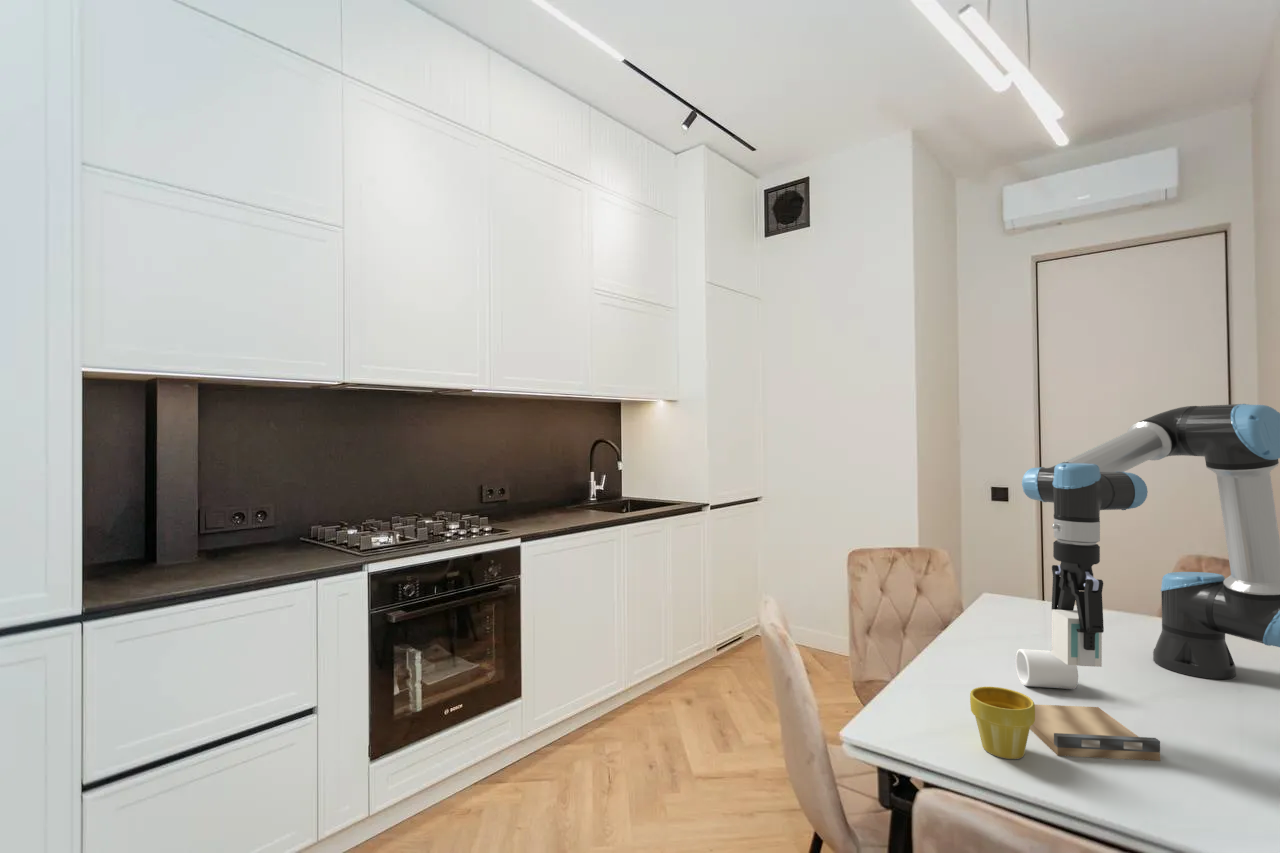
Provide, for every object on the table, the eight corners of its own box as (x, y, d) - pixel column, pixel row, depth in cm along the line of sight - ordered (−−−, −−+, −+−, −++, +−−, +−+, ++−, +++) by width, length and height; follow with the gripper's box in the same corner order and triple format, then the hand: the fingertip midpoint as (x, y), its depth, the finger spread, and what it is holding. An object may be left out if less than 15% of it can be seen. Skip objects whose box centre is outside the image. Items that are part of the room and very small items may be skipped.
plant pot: (958, 737, 119) (958, 686, 119) (1009, 735, 120) (1009, 684, 120) (993, 767, 109) (993, 711, 109) (1049, 764, 110) (1049, 708, 110)
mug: (1078, 695, 138) (1078, 659, 138) (1029, 691, 140) (1028, 656, 140) (1054, 674, 150) (1054, 640, 150) (1008, 671, 152) (1008, 638, 152)
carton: (1051, 653, 126) (1051, 609, 126) (1083, 655, 126) (1083, 610, 126) (1068, 665, 120) (1068, 618, 120) (1102, 667, 119) (1102, 619, 119)
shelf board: (1098, 714, 128) (1098, 697, 128) (1160, 761, 110) (1160, 741, 110) (1010, 710, 130) (1010, 693, 130) (1058, 756, 112) (1057, 736, 112)
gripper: (1031, 533, 133) (1031, 641, 133) (1083, 550, 114) (1083, 676, 114) (1070, 533, 132) (1069, 643, 132) (1128, 551, 113) (1128, 679, 113)
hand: (1076, 658), depth 123 cm, fingers closed on carton, 6 cm apart
